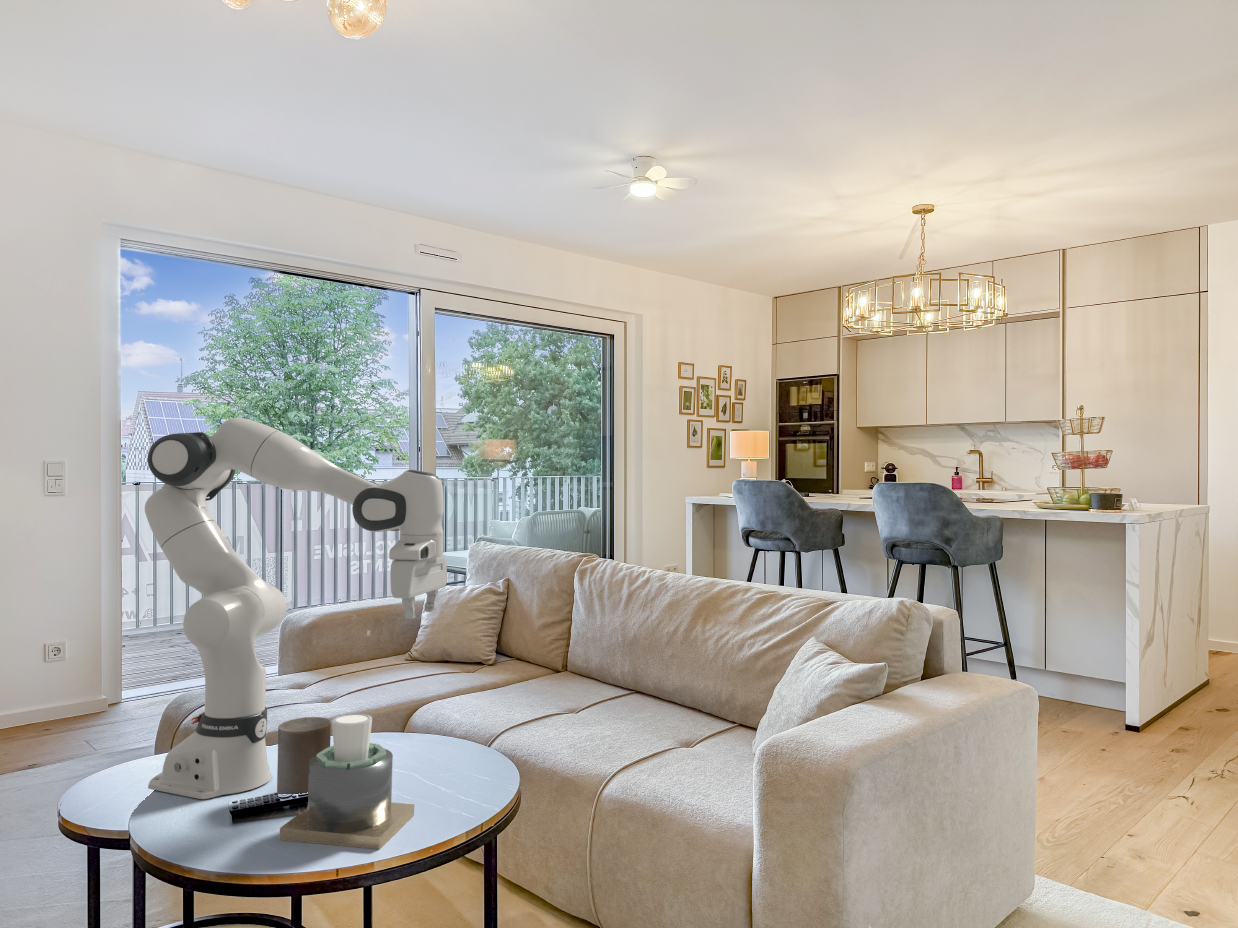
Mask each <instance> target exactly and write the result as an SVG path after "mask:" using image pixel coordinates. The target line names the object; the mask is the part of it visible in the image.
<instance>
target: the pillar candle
mask: <svg viewBox="0 0 1238 928" xmlns="http://www.w3.org/2000/svg"><path fill="white" fill-rule="evenodd" d="M331 725H332V721H331V720H330V719H329V718H327V717H323V716H322V717H321V716H305V717H299V718H298V717H297V718H294V719H293V718H292V719H288V720H286V721H283V722H282V723H280V724H279V725H278V726H277V731H278V732H277V737H278V738H277V771H276V772H277V773H276V774H277V777H276V795H277V794H299V793H300V794H302V793H307V792H308V780H309V761H310V759H311V758H312V757H314V756H315V755H317V754H318V753H320V752H321V751H323V750H324V749H326V748H328V747H331V731H332V730H331V727H332V726H331Z"/></svg>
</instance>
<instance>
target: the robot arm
mask: <svg viewBox="0 0 1238 928" xmlns="http://www.w3.org/2000/svg"><path fill="white" fill-rule="evenodd" d="M147 465H148V468H149V470H150V472H151V473H152V475H153V476H154V477H155V478H156V479H158V480H159V481H160V482H161V483H163V485H162V487H161V488H160V489H157V490H156V491H154V492H153V493H152V494H151V495H150V496H149V497H148V498H147V500H146V502H145V504H144V513H145V516H146V520H147V523H148V524H149V527H150V530H151V532H152V534H153V536H154V538H155V540H156V542H157V545H159V547H160V549H161V551H162V552H163V555H164V556H165V557H166V559H167V560H168V561H169V564H170V565H171V567H172V568H173V570H174V571H175V573H176V575H177V576H178V578H179V580H180V581H181V582H182V583H184V584H185V585H187V586H188V587H191V588H193V589H195V590H196V591H198V592H199V593H200V594H201V595H202V596H203V597H202V598H200V599H198V600H196V601H195V602H194V603H192V604H191V605H190V606H189V607H188V609H187V610H186V612H185V613H184V616H183V622H182V623H183V624H182V625H183V631H184V634H185V636H186V638H187V639H188V642H190V643H191V644H192V645H194V646H195V648H196V649H197V651H198V654H199V656H200V659H201V662H202V665H203V666H202V667H203V670H204V672H203V673H204V683H205V684H204V711H203V712H202V713H200V714H198V716H195V717H193V718H191V721H192V722H191V725H194V724H196V725H197V726H196V727H195V730H194V731H193V732H192V733H191V734H190V735H188V736H187V737H186V738H185V739H183V740H182V741H181V742H179V743H178V744H177V745H176V746H174V747H173V748H171V749H170V751H169V752H167V754H166V756H165V757H164V758H165V759H164V762H163V765H162V766H163V767H162V772H160V773H158V774H157V775H155V776H154V777H152V778H151V779H150V781H148V786H147V789H148V790H152V791H153V790H154V791H159V792H163V793H168V794H174V795H177V796H183V797H189V798H194V799H199V800H207V799H211V798H216V797H220V796H222V795H223V796H225V795H230V794H231V795H232V794H237V793H242V792H245V791H250V790H254V789H256V788H258V787H261V786H263V785H265V784H267V783H268V782H269V781H270V780H271V779H272V772H271V770H270V765H269V760H268V759H269V758H268V754H267V744H266V734H267V729H268V707H267V706H266V692H267V690H266V689H267V688H266V687H267V685H266V684H267V671H266V668H265V667H264V665H263V664H261V663H260V662H259V659H258V657H257V653H256V649H255V638H258V637H261V636H264V635H266V634H268V633H270V632H271V631H273V630H274V629H275V628H276V627H277V626H278V625H279V624H281V623H282V622H283V620H284V619H285V617H286V615H287V611H288V602H287V599H286V597H285V594H284V593H283V591H281V590H279V588H277V587H275V586H273V585H271V584H269V583H267V582H266V581H265V580H264V579H262V577H260V576H259V575H258V574H257V572H255V571H254V570H253V569H252V568H251V567H250V566H249V565H248V564H247V563H246V562H245V561H244V560H243V559H242V557H241V556H239V554H237V552H236V550H234V548H233V547H232V545H231V543H230V542H229V540H228V539H227V538H226V535H225V534H224V533H223V531H222V529H221V528H220V527H219V525H218V524H217V522H216V520H215V519H214V517H213V516H212V513H210V511H209V509H208V507H207V505H206V504H207V503H206V502H207V501H212V500H213V499H214V498H215V497H216V496H217V495H218V494H219V492H221V491H222V490H223V489H225V488H226V487H227V486H228V485H229V484H230V483H231V481H232V480H233V478H234V476H235V474H236V471H238V472H241V473H243V474H245V475H247V476H249V477H250V478H251V477H252V478H253V479H255V480H258V481H259V482H262V483H264V484H267V485H269V486H273V487H275V488H276V487H277V488H280V489H284V490H290V491H292V490H293V491H306V492H307V491H308V492H315V493H316V492H318V493H321V494H322V493H323V494H324V495H325V494H326V495H329V496H331V497H334V498H337V499H339V500H340V501H343V502H345V503H347V504H350V505H352V516H353V519H354V521H355V523H357V525H358V526H359V527H360V528H362V530H363V529H364V530H365V531H369V532H373V533H381V532H398V531H399V539H398V540H397V542H396V543H395V544H394V545H393V546H392V547H391V548H390V549H389V554H388V555H389V560H392V561H391V564H390V593H391V595H392V597H393V598H394V599H401V602H402V606H403V609H404V618H405V619H407V620H413V619H415V618H416V617H417V609H416V608H415V604H414V602H416V597H417V596H420V595H421V596H422V595H423V594H426V601H425V602H424V612H426V613H432V612H435V610H436V602H437V598H438V596H439V595H438V594H439V589H440V590H441V589H442V588H445V587H446V585H447V582H448V570H447V569H448V568H447V558H446V555H445V554H444V529H443V525H442V524H443V522H442V521H443V517H444V515H445V514H444V512H445V511H444V510H445V501H444V487H443V482H442V479H441V478H440V477H439V476H438V475H436V474H434V473H432V472H428V471H427V472H426V471H424V470H423V471H421V470H417V469H408V470H407V469H406V470H405V471H404V472H402V473H401V474H400V475H398V476H396V477H394V478H393V479H390V480H387V481H385V482H383V483H380V484H379V483H376V482H373V481H371V480H368V479H367V478H364V477H362V476H359V475H357V474H355V473H353V472H350V471H348V470H346V469H344V468H342V467H339V466H337V465H336V464H335V463H333V462H331V461H330V460H327V458H324V457H323V456H322V455H320V454H319V453H317V452H315V450H313V449H312V448H309V446H307V445H306V444H304V443H302V442H300V441H299V440H297V439H296V438H294V437H293V436H291V435H289V434H287V433H285V432H283V431H281V430H278V429H276V428H275V427H271V426H269V425H267V424H264V423H262V422H258V421H256V420H252V419H248V418H245V417H239V416H238V417H236V416H235V417H232V418H231V417H230V418H229V419H227V420H225V421H224V422H223V423H222V424H220V425H219V427H218V428H217V429H216V432H215V433H214V434H212V435H208V434H206V433H205V432H203V431H199V432H198V431H197V432H195V431H194V432H179V433H171V434H167V435H163V436H162V437H159V438H158V439H157V440H156V441H155V442H153V443H152V445H151V446H150V448H149V451H148V453H147ZM197 723H198V724H197Z"/></svg>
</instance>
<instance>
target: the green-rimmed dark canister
mask: <svg viewBox="0 0 1238 928" xmlns="http://www.w3.org/2000/svg"><path fill="white" fill-rule="evenodd" d="M393 756H394V755H393V753H392V751H390V750H389V749H387V748H384V747H383V746H381V745H380V744H377V743H373V742H369V751H368V758H367V759H363V760H357V761H352V762H342V761H334V745H330V747H328V748H326V749H324V750H323V751H321V752H320V753H318V754H317V755H315V756H314V757H312V758H311V759H310V761H309V780H308V802H307V808H305V809H304V810H302V811H301V812H300V813H298V814H296V816H294V817H293V818H292V819H291V820H289V821H288V822H286V823H285V824H283V825H281V826H280V827H279V841H288V842H295V843H296V842H297V843H308V844H318V845H328V846H340V847H350V848H360V849H370V850H371V849H372V850H381V848H383V847H384V846H385V844H387V843H388V842H389V841H390V840H391V839H392V838H393V837H394V836H395V835H396V834H397V833H398V832H399V831H400V830H401V829H402V828H403V827H404V826H405V825H406V824H407V823H408V822H409V821H410V820H411V819H412V818H413V817H414V816H415V803H405V802H403V803H401V802H393V801H392V788H393V760H394V759H393Z"/></svg>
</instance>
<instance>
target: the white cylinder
mask: <svg viewBox="0 0 1238 928" xmlns="http://www.w3.org/2000/svg"><path fill="white" fill-rule="evenodd" d="M331 725H332V726H331V727H332V741H333V742H332V743H333V745H332V746H334V761H342V762H352V761H357V760H363V759H367V758H368V751H369V743H371V742H370V741H371V734H372V726H373V716H371V715H370V714H366V713H365V714H363V713H352V714H351V713H350V714H343V715H339V716H335V717H334V718H333V719H332V720H331Z"/></svg>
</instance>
